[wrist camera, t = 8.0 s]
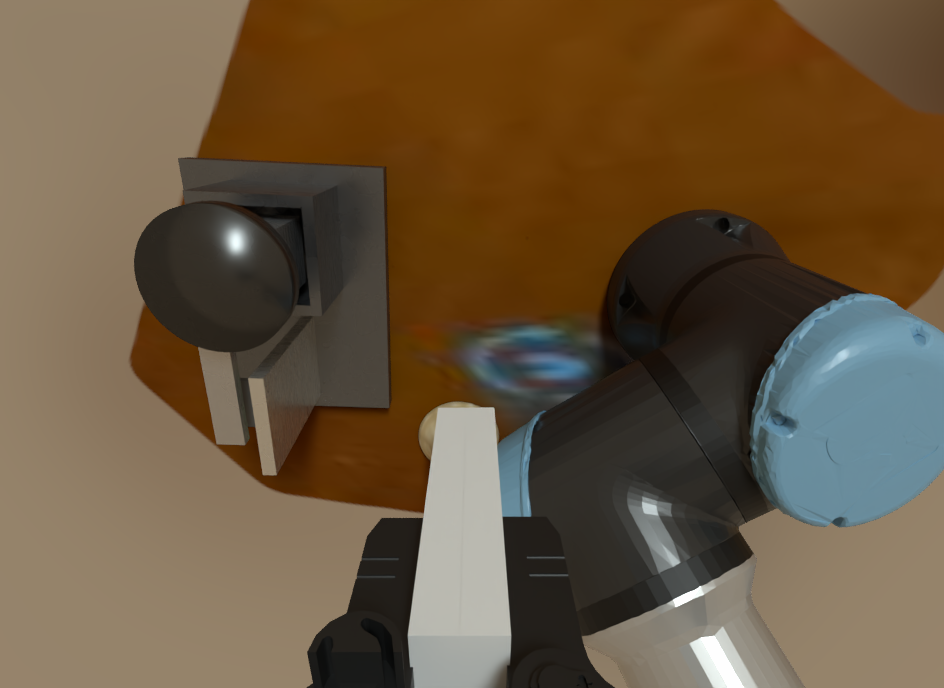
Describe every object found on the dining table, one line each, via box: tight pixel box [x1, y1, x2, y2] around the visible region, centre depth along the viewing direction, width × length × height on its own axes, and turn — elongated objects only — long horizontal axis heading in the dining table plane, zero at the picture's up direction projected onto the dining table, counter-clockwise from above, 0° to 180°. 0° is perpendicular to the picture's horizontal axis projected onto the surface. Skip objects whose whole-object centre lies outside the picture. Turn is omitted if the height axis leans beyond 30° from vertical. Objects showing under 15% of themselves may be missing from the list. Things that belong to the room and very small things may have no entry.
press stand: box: [178, 157, 391, 475], centre depth 39 cm, size 16×22×14 cm
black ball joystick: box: [134, 200, 306, 445], centre depth 35 cm, size 9×17×9 cm, turn 177°
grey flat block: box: [240, 378, 255, 427], centre depth 38 cm, size 2×4×1 cm, turn 177°
